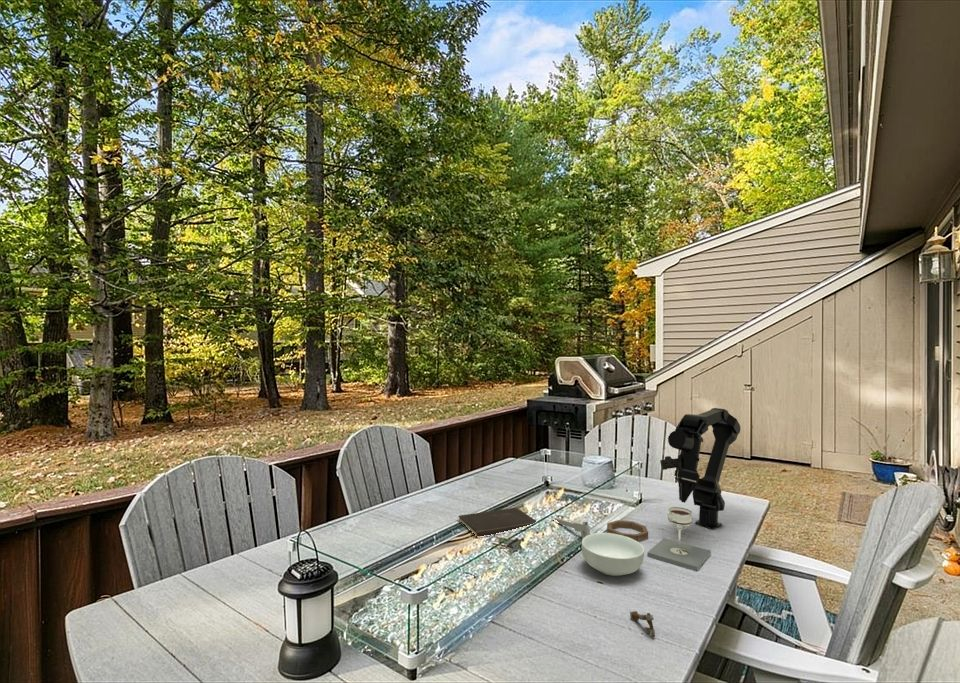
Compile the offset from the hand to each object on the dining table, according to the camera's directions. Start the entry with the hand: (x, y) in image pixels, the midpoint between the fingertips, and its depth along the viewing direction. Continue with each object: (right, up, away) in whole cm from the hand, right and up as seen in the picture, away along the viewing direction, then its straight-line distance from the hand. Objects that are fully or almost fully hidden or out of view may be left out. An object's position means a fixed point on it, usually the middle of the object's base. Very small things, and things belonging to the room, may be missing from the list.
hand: (682, 501), depth 160 cm
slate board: (-6, -12, -12) cm, 18 cm away
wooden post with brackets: (-29, -12, -49) cm, 59 cm away
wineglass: (-6, -11, -12) cm, 17 cm away
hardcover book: (-59, -12, +9) cm, 61 cm away
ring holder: (-17, -12, +3) cm, 21 cm away
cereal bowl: (-28, -12, -22) cm, 38 cm away
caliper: (-35, -12, +5) cm, 38 cm away
